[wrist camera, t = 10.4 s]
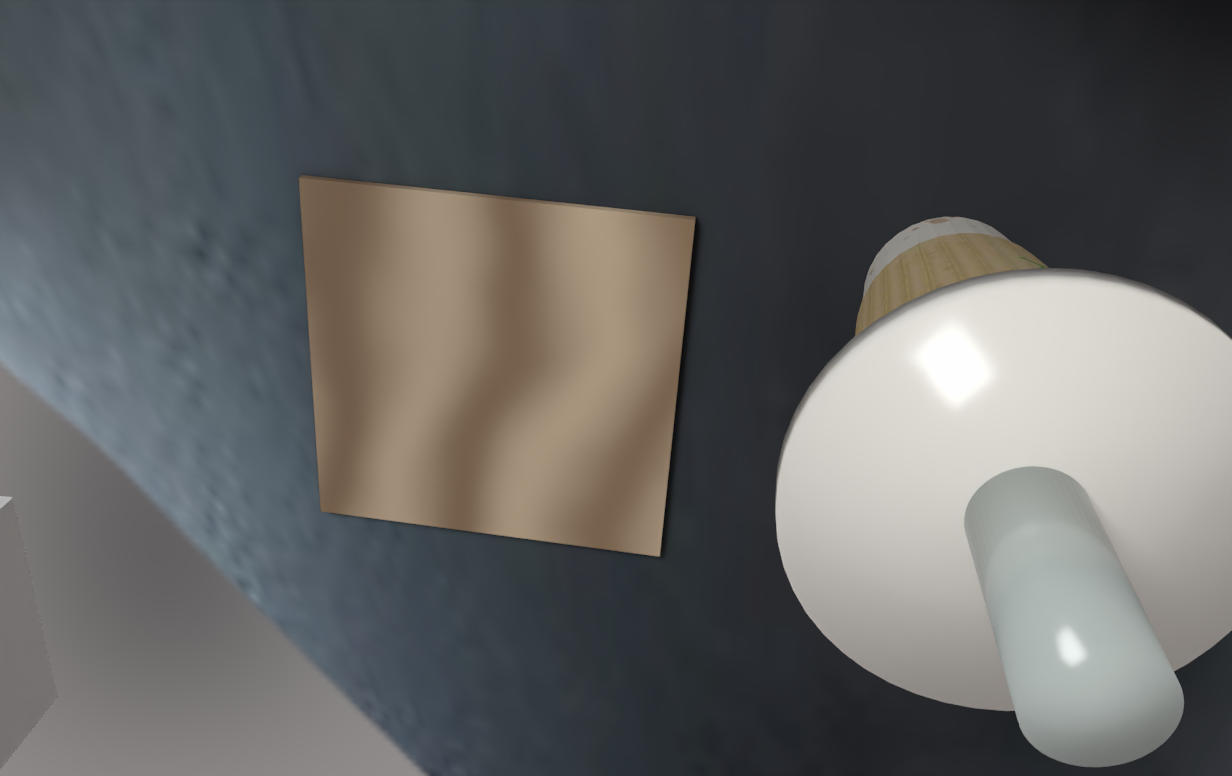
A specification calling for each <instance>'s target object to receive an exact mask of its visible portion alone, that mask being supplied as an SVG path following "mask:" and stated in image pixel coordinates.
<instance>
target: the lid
mask: <svg viewBox="0 0 1232 776" xmlns="http://www.w3.org/2000/svg"><path fill="white" fill-rule="evenodd" d="M776 527H777V540H778V545H779V549H780V554H781V558H782V562H783V566H784V569H785V571H786V574H787V576H788V579H789V581H790V584H791V586H792V589H793V591H794V593H795V594H796V596H797V598H798V599H799V601H800V603H801V605H802V606H803V608H804V610H805V611H806V613H807V614H808V616H809V617H810V618H811V619H812V621H813V622H814V623H815V624H816V626H817V627H818V628H819V629H820V630H821V632H822V633H823V634H824V635H825V636H826V637H827V638H828V639H829V640H830V641H831V642H832V643H833V644H834V645H835V646H836V647H838V648H839V649H840V650H841V651H842V652H843V653H844V654H845V655H847V656H848V657H850V658H851V659H852V660H854V661H855V662H856V663H858V664H859V665H860V666H862V667H863V668H865V669H866V670H868V671H870V672H872V673H873V674H875V675H877V676H879V677H880V678H882V679H884V680H886V681H888V682H889V683H892V684H894V685H896V686H899V687H901V688H903V689H906V690H908V691H910V692H913V693H915V694H918V695H921V696H925V697H928V698H931V699H935V700H938V701H941V702H945V703H950V704H955V705H960V706H966V707H971V708H978V709H990V710H1001V711H1015V712H1016V716H1017V719H1018V723H1019V726H1020V728H1021V730H1022V732H1023V734H1024V736H1025V737H1026V738H1027V740H1028V741H1029V742H1030V743H1031V744H1032V745H1033V746H1034V747H1035V748H1036V749H1038V750H1039V751H1040V752H1042V753H1043V754H1045V755H1047V756H1048V757H1050V758H1053V759H1055V760H1057V761H1060V762H1063V763H1067V764H1071V765H1076V766H1083V767H1106V766H1114V765H1119V764H1123V763H1127V762H1130V761H1133V760H1136V759H1138V758H1141V757H1143V756H1145V755H1147V754H1149V753H1150V752H1152V751H1154V750H1155V749H1157V748H1158V747H1159V746H1160V745H1162V744H1163V743H1164V742H1165V741H1166V740H1167V739H1168V738H1169V737H1170V736H1171V735H1172V734H1173V732H1174V731H1175V729H1176V728H1177V726H1178V724H1179V722H1180V720H1181V717H1182V713H1183V708H1184V696H1183V692H1182V688H1181V686H1180V683H1179V681H1178V679H1177V677H1176V675H1175V673H1174V671H1175V670H1177V669H1179V668H1181V667H1183V666H1185V665H1187V664H1188V663H1189V662H1191V661H1192V660H1194V659H1195V658H1197V657H1198V656H1200V655H1201V654H1203V653H1204V652H1206V651H1207V650H1208V649H1210V648H1211V647H1213V646H1214V645H1215V644H1216V643H1217V642H1219V641H1220V640H1221V639H1222V638H1223V637H1224V636H1225V635H1227V634H1228V633H1229V632H1230V631H1231V630H1232V338H1231V337H1230V336H1229V335H1228V334H1227V333H1226V332H1225V331H1223V330H1222V329H1221V328H1220V327H1219V326H1218V325H1217V324H1215V323H1214V322H1213V321H1212V320H1211V319H1210V318H1209V317H1207V316H1206V315H1204V314H1202V313H1201V312H1199V311H1198V310H1196V309H1195V308H1193V307H1192V306H1190V305H1188V304H1187V303H1185V302H1184V301H1182V300H1181V299H1178V298H1176V297H1174V296H1172V295H1170V294H1167V293H1165V292H1163V291H1161V290H1159V289H1156V288H1154V287H1152V286H1150V285H1147V284H1143V283H1140V282H1137V281H1133V280H1130V279H1127V278H1124V277H1120V276H1117V275H1112V274H1106V273H1100V272H1094V271H1088V270H1082V269H1061V268H1035V269H1021V270H1008V271H1003V272H998V273H992V274H987V275H982V276H977V277H972V278H969V279H966V280H962V281H959V282H956V283H953V284H950V285H946V286H943V287H940V288H937V289H935V290H933V291H931V292H928V293H926V294H924V295H922V296H919V297H917V298H915V299H913V300H910V301H908V302H906V303H904V304H903V305H901V306H899V307H898V308H896V309H894V310H893V311H891V312H889V313H888V314H886V315H884V316H882V317H881V318H879V319H877V320H876V321H875V322H873V323H872V324H871V325H869V326H868V327H867V328H866V329H864V330H863V331H862V332H860V333H859V334H858V335H857V336H855V337H854V338H853V339H851V340H850V341H849V342H848V343H847V344H846V345H845V346H844V347H843V348H842V349H841V350H840V351H839V352H838V353H837V354H836V355H835V356H834V357H833V358H832V359H831V360H830V361H829V362H828V363H827V364H826V366H825V367H824V368H823V370H822V371H821V372H820V373H819V375H818V376H817V377H816V379H815V380H814V381H813V383H812V384H811V385H810V386H809V388H808V390H807V391H806V393H805V395H804V397H803V398H802V400H801V402H800V404H799V405H798V407H797V409H796V411H795V412H794V415H793V417H792V420H791V422H790V425H789V427H788V430H787V432H786V435H785V437H784V440H783V445H782V449H781V453H780V457H779V462H778V467H777V480H776Z"/></svg>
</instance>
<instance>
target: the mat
mask: <svg viewBox="0 0 1232 776" xmlns="http://www.w3.org/2000/svg"><path fill="white" fill-rule="evenodd" d="M299 189H300V204H301V219H302V234H303V250H304V265H305V280H306V295H307V311H308V326H309V341H310V356H311V372H312V387H313V402H314V417H315V433H316V448H317V463H318V478H319V494H320V509H321V511H322V512H329V513H337V514H344V515H352V516H359V517H367V518H374V519H382V520H389V521H397V522H404V523H412V524H419V525H427V526H434V527H442V528H449V529H457V530H464V531H472V532H479V533H487V534H494V535H502V536H509V537H517V538H524V539H531V540H539V541H546V542H554V543H561V544H569V545H576V546H584V547H591V548H599V549H606V550H614V551H621V552H629V553H636V554H644V555H651V556H659V557H660V551H661V541H662V532H663V522H664V513H665V504H666V494H667V485H668V475H669V466H670V456H671V447H672V437H673V428H674V418H675V409H676V399H677V390H678V381H679V371H680V362H681V352H682V343H683V333H684V324H685V314H686V305H687V295H688V286H689V276H690V267H691V258H692V248H693V239H694V229H695V220H696V217H693V216H683V215H674V214H664V213H655V212H646V211H636V210H627V209H617V208H608V207H599V206H589V205H580V204H570V203H561V202H552V201H542V200H533V199H523V198H514V197H505V196H495V195H486V194H476V193H467V192H458V191H448V190H439V189H429V188H420V187H411V186H401V185H392V184H382V183H373V182H363V181H354V180H345V179H335V178H326V177H316V176H307V175H302V176H301V177H299Z"/></svg>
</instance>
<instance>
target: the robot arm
mask: <svg viewBox="0 0 1232 776" xmlns="http://www.w3.org/2000/svg"><path fill="white" fill-rule="evenodd" d="M57 697H58V696H57V691H56V687H55V682H54V678H53V673H52V669H51V664H50V661H49V656H48V651H47V647H46V642H45V638H44V634H43V629H42V624H41V620H40V616H39V612H38V607H37V602H36V598H35V593H34V589H33V585H32V580H31V576H30V571H29V567H28V562H27V558H26V553H25V549H24V545H23V540H22V536H21V532H20V527H19V523H18V518H17V514H16V509H15V505H14V500H13V498H12V497H5V496H0V769H1V768H2V767H3V766H4V764H5V763H6V762H7V761H8V759H9V758H10V757H11V755H12V754H13V753H14V752H15V750H16V749H17V748H18V747H19V745H20V744H21V743H22V742H23V740H24V739H25V738H26V736H27V735H28V734H29V733H30V731H31V730H32V729H33V728H34V726H35V725H36V724H37V723H38V721H39V720H40V719H41V718H42V716H43V715H44V713H45V712H46V711H47V710H48V709H49V707H50V706H51V705H52V704H53V702H54V701H55V700H56V699H57Z"/></svg>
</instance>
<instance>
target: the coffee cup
mask: <svg viewBox="0 0 1232 776" xmlns="http://www.w3.org/2000/svg"><path fill="white" fill-rule="evenodd" d="M1035 268H1048V267H1047V266H1046V265H1045V264H1043V263H1042V262H1041V261H1040V260H1039V259H1037V258H1036V257H1035V256H1034V255H1032V254H1031V253H1029V252H1028V251H1026V250H1025V249H1024V248H1022V247H1021V246H1019V245H1017V244H1015V243H1012V242H1011V241H1010V240H1008V239H1007V238H1006V237H1005V236H1004V235H1002V234H1001V233H1000V232H998V231H997V230H995V229H994V228H993V227H991V226H989V225H986V224H984V223H982V222H979V221H977V220H972V219H968V218H963V217H941V218H935V219H929V220H926V221H923V222H920V223H917V224H914V225H912V226H910V227H909V228H907V229H905V230H903V231H902V232H900V233H898V234H897V235H896V236H895V237H893V238H892V239H891V240H890V241H889V242H887V243H886V244H885V246H884V247H883V248H882V249H881V251H880V252H879V253H878V254H877V255H876V257H875V259H874V261H873V263H872V264H871V266H870V268H869V271H868V274H867V277H866V281H865V286H864V295H863V300H862V303H861V306H860V310H859V313H858V316H857V324H856V332H855V336H857V335H858V334H859V333H860V332H862V331H863V330H864V329H866V328H867V327H868V326H869V325H871V324H872V323H873V322H875V321H876V320H877V319H879V318H881V317H882V316H884V315H886V314H888V313H889V312H891V311H893V310H894V309H896V308H898V307H899V306H901V305H903V304H904V303H906V302H908V301H910V300H913V299H915V298H917V297H919V296H922V295H924V294H926V293H928V292H931V291H933V290H935V289H937V288H940V287H943V286H946V285H950V284H953V283H956V282H959V281H962V280H966V279H969V278H972V277H977V276H982V275H987V274H992V273H998V272H1003V271H1008V270H1021V269H1035Z"/></svg>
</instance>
